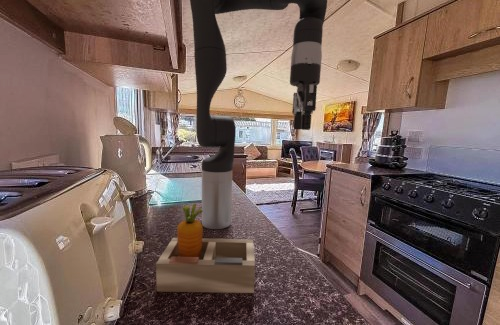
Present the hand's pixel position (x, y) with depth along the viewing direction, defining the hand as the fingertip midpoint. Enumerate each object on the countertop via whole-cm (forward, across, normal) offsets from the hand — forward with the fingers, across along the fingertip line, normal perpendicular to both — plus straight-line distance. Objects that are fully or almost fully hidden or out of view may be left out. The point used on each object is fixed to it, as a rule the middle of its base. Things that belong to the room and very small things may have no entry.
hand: (301, 129), depth 60 cm
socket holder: (+30, +18, -21) cm, 41 cm away
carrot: (+30, +18, -25) cm, 43 cm away
